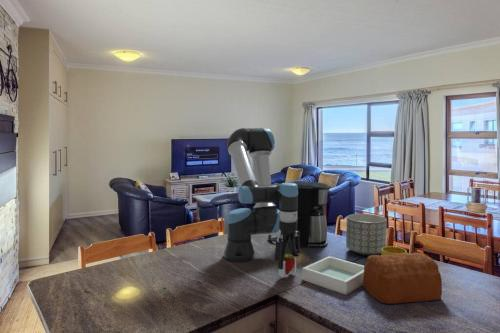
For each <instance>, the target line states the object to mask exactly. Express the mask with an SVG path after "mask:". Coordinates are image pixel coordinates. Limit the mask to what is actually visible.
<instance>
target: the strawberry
mask: <svg viewBox="0 0 500 333" xmlns="http://www.w3.org/2000/svg"><path fill="white" fill-rule="evenodd" d="M293 257H294V256H291V253H290V254H289V253H286V254H285V258H284V261H285V275H289V274H290V273H291V272H292V271H291V270H292V269H293V267H294V264H295V261H294V258H293ZM281 259H282V258H281Z"/></svg>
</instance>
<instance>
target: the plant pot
mask: <svg viewBox="0 0 500 333" xmlns="http://www.w3.org/2000/svg"><path fill="white" fill-rule="evenodd" d="M405 253H408V252H407V249H405V248H402V247H399V246H393V245H392V246H391V245H390V246H387V245H386V247H383V248H382V249H381V253H380V254H381V255H388V254H405Z"/></svg>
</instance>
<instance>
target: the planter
mask: <svg viewBox="0 0 500 333" xmlns="http://www.w3.org/2000/svg"><path fill="white" fill-rule="evenodd" d="M387 220H388V219H387V218H386V217H385V216H381V215H376V214H371V213H370V214H368V213H352V214H349V215H347V216H346V230H345V231H346V240H345V243H346V244H345V246H346V248H347V249H348V250H350V251H352V252H353V253H355V254H357V255H359V256H364V257H369V256H372V255H379V254H381V249H382V248H383V247H387V226H388V224H387V223H388V222H387Z"/></svg>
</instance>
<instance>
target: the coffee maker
mask: <svg viewBox="0 0 500 333" xmlns="http://www.w3.org/2000/svg"><path fill="white" fill-rule="evenodd" d="M289 183H295V184H297V186H298V210H297V220H296V221H297V230H296V231H299V232H300V248H310V247H311V248H325V247H326V246H327V245H328V241H329V240H328V225H327V218H326V213H325V210H324V208H323V206H326V204H327V202H328V196H329V191H330V189H331V188H332V186H330V185H329V184H327V183H323V182H316V181H308V180H307V181H305V180H304V181H303V180H302V181H301V180H295V181H290V182H289ZM267 235H268V237H267V239H268V240H269V241H270V242H275V243H276V239H275V238H276V237H272V234H267ZM283 243H285V242H283Z"/></svg>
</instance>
